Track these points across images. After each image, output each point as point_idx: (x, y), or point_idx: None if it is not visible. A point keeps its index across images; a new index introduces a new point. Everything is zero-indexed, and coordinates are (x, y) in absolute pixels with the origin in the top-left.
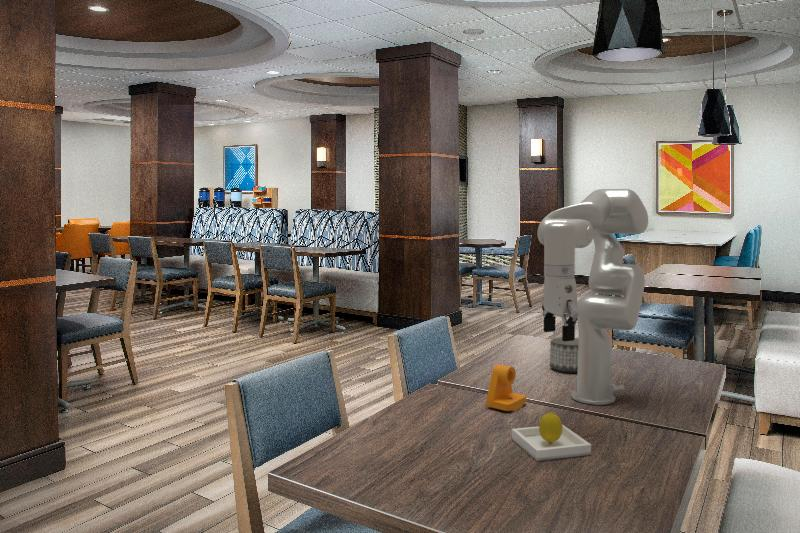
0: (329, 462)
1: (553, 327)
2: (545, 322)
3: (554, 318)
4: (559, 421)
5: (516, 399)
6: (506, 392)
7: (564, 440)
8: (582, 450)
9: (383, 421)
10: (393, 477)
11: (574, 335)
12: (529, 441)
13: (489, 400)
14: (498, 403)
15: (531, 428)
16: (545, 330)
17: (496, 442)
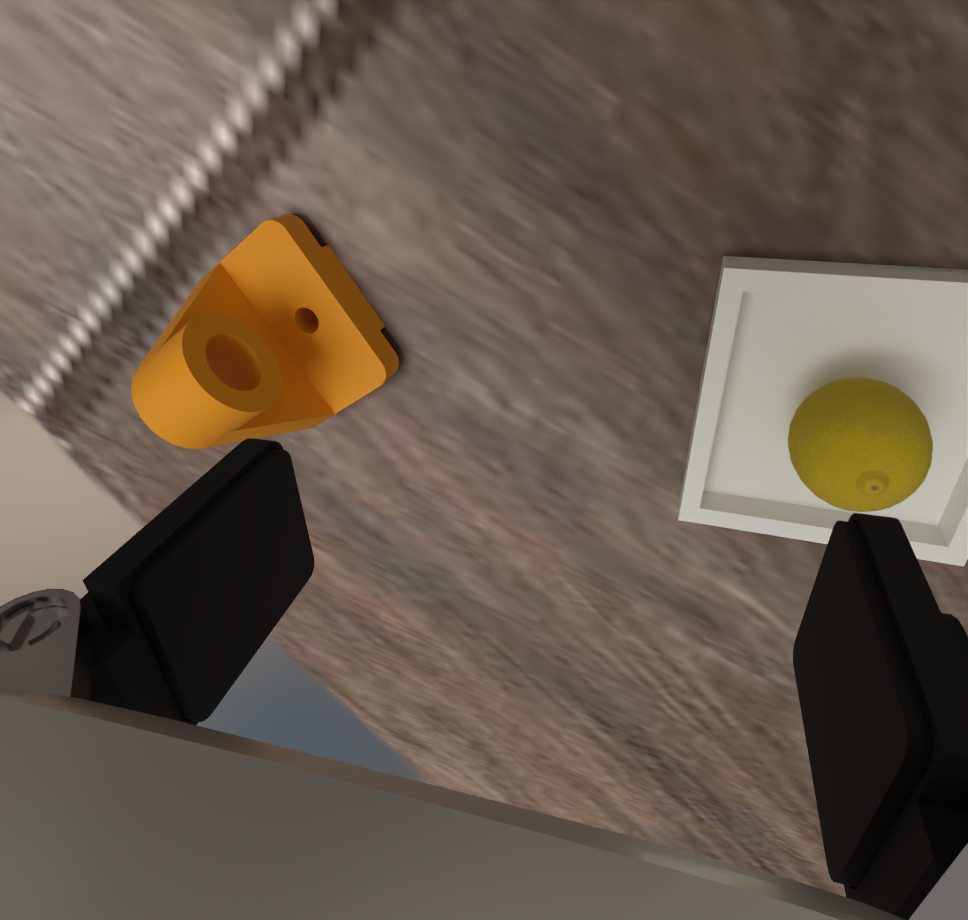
0: None
1: (264, 501)
2: (241, 666)
3: (162, 588)
4: (926, 446)
5: (322, 299)
6: (249, 317)
7: (842, 318)
8: None
9: (405, 722)
10: (796, 872)
11: (916, 568)
12: None
13: (322, 421)
14: (356, 399)
15: (709, 443)
16: (306, 580)
17: (690, 559)
